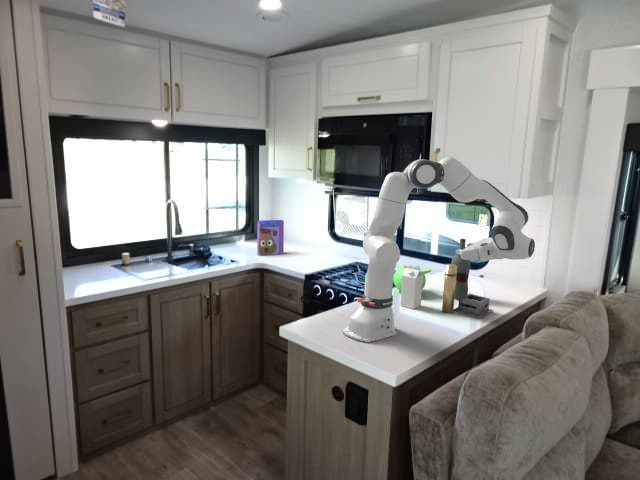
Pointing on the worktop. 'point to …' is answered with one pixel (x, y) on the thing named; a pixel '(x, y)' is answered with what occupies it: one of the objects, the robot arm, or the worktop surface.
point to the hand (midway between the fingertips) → (462, 248)
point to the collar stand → (473, 306)
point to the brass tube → (449, 288)
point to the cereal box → (270, 237)
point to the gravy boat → (399, 272)
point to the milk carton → (411, 287)
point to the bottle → (461, 273)
